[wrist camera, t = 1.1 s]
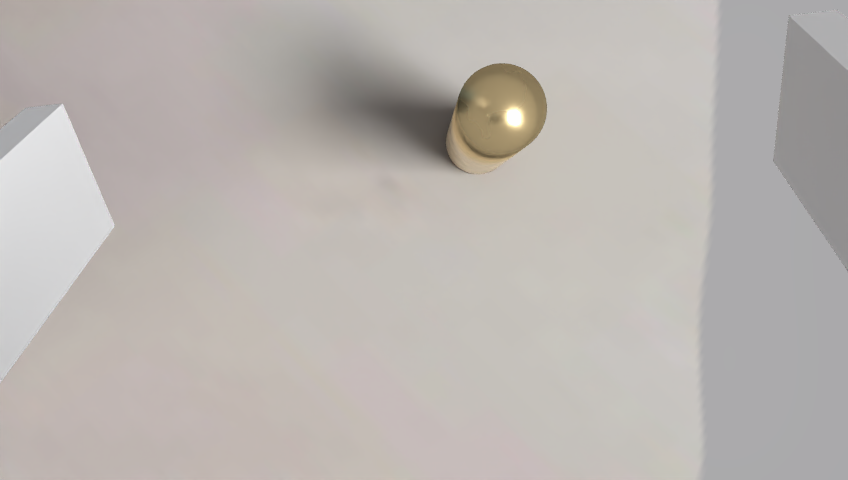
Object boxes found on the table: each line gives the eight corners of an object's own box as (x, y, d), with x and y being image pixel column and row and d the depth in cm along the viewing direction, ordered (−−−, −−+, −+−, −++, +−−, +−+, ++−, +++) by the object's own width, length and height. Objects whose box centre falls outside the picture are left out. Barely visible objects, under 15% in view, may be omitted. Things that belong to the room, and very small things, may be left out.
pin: (437, 162, 39) (445, 137, 28) (457, 101, 39) (473, 51, 28) (498, 182, 39) (530, 164, 28) (518, 121, 39) (558, 79, 28)
